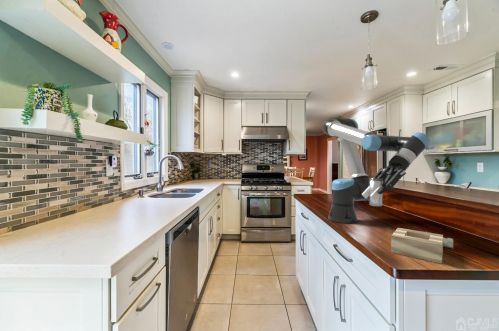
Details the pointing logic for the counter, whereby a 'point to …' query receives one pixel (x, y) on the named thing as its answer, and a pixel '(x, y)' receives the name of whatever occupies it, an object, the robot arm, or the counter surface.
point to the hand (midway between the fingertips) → (368, 197)
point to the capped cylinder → (373, 186)
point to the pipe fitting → (448, 242)
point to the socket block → (417, 244)
